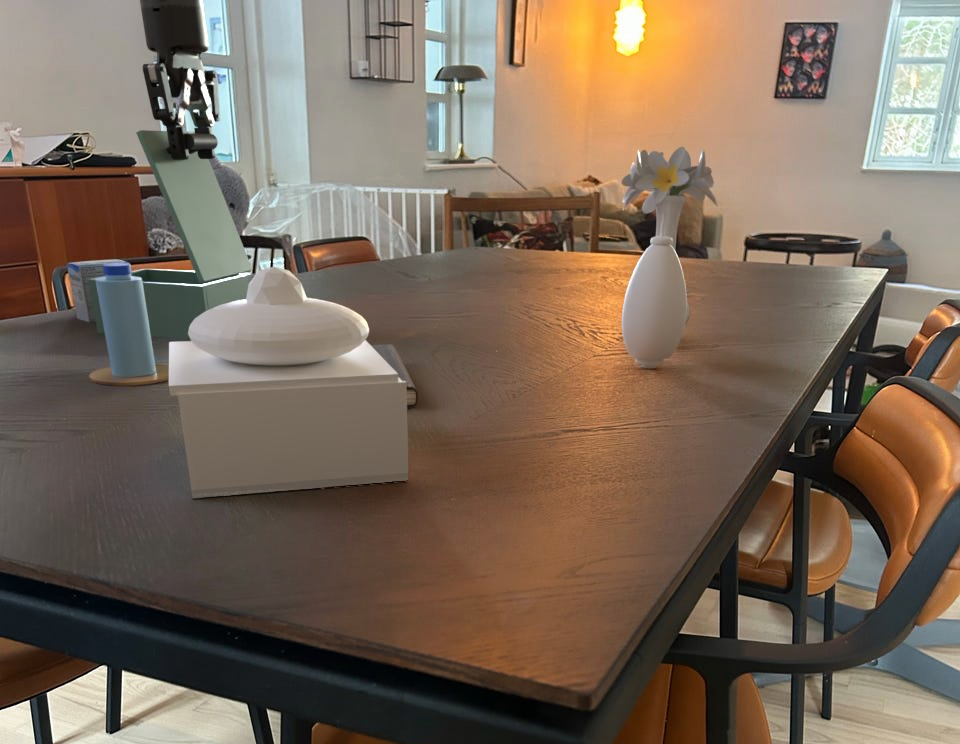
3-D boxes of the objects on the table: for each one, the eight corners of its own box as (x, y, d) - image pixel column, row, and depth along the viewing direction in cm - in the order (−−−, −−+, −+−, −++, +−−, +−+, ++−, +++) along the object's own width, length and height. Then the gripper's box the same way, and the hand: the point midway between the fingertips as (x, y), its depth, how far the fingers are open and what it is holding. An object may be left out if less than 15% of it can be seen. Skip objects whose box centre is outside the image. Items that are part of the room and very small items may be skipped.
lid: (135, 132, 114) (168, 116, 112) (193, 133, 126) (223, 119, 124) (199, 283, 121) (231, 270, 119) (248, 271, 133) (277, 259, 131)
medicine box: (126, 317, 144) (116, 258, 139) (139, 321, 141) (130, 261, 137) (77, 323, 139) (65, 262, 135) (89, 327, 136) (78, 265, 132)
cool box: (98, 338, 129) (87, 279, 125) (152, 322, 140) (144, 268, 137) (209, 346, 125) (202, 285, 121) (256, 329, 136) (251, 274, 133)
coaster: (74, 384, 105) (73, 380, 104) (112, 365, 113) (112, 362, 113) (158, 387, 104) (157, 383, 104) (190, 368, 113) (190, 365, 112)
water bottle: (104, 376, 107) (84, 266, 101) (123, 367, 111) (105, 261, 105) (145, 378, 106) (128, 267, 100) (162, 368, 111) (146, 262, 105)
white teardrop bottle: (635, 358, 122) (649, 210, 113) (689, 365, 118) (707, 213, 109) (607, 367, 116) (619, 212, 108) (663, 376, 112) (680, 216, 104)
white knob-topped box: (408, 481, 76) (403, 278, 69) (185, 499, 72) (153, 284, 64) (370, 425, 91) (362, 254, 83) (183, 438, 86) (156, 257, 79)
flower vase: (675, 325, 145) (695, 147, 133) (714, 347, 129) (741, 147, 117) (595, 325, 144) (608, 145, 132) (625, 348, 128) (642, 145, 116)
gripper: (177, 14, 120) (197, 159, 128) (110, -1, 107) (137, 160, 115) (228, 12, 118) (245, 158, 126) (166, -4, 106) (190, 159, 114)
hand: (193, 158), depth 120 cm, fingers closed on lid, 6 cm apart
